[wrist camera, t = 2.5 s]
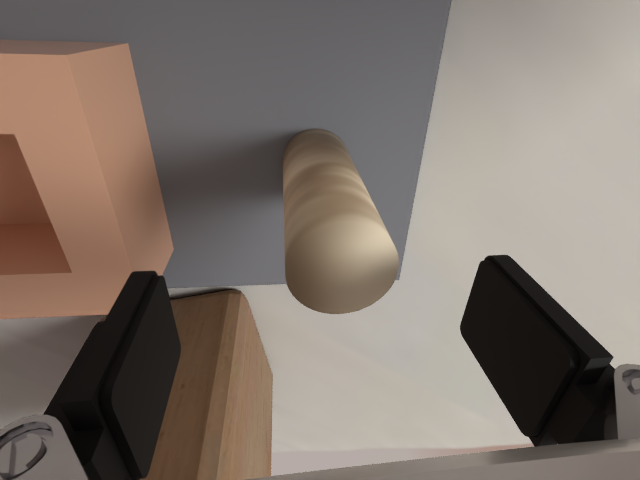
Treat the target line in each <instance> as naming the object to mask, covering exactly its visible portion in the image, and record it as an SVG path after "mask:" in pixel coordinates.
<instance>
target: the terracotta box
mask: <svg viewBox="0 0 640 480" xmlns="http://www.w3.org/2000/svg"><path fill="white" fill-rule="evenodd" d="M173 250H174V248H173V244H172V239H171V234H170V230H169V225H168V221H167V216H166V212H165V207H164V203H163V198H162V194H161V189H160V185H159V180H158V176H157V171H156V167H155V162H154V158H153V153H152V149H151V144H150V140H149V135H148V131H147V126H146V122H145V117H144V113H143V108H142V104H141V99H140V95H139V90H138V86H137V81H136V77H135V72H134V68H133V63H132V59H131V54H130V50H129V45H128V43H106V42H70V41H34V40H0V319H13V318H36V317H60V316H83V315H107V314H109V312H110V310H111V308H112V306H113V305H114V303H115V301H116V299H117V297H118V296H119V294H120V292H121V290H122V288H123V287H124V285H125V283H126V281H127V279H128V278H129V276H130V274H131V273H132V272H134V271H156V272H157V274H158V276H160V275H163V272H164V270H165V268H166V266H167V263H168V261H169V259H170V257H171V254H172V252H173Z"/></svg>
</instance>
